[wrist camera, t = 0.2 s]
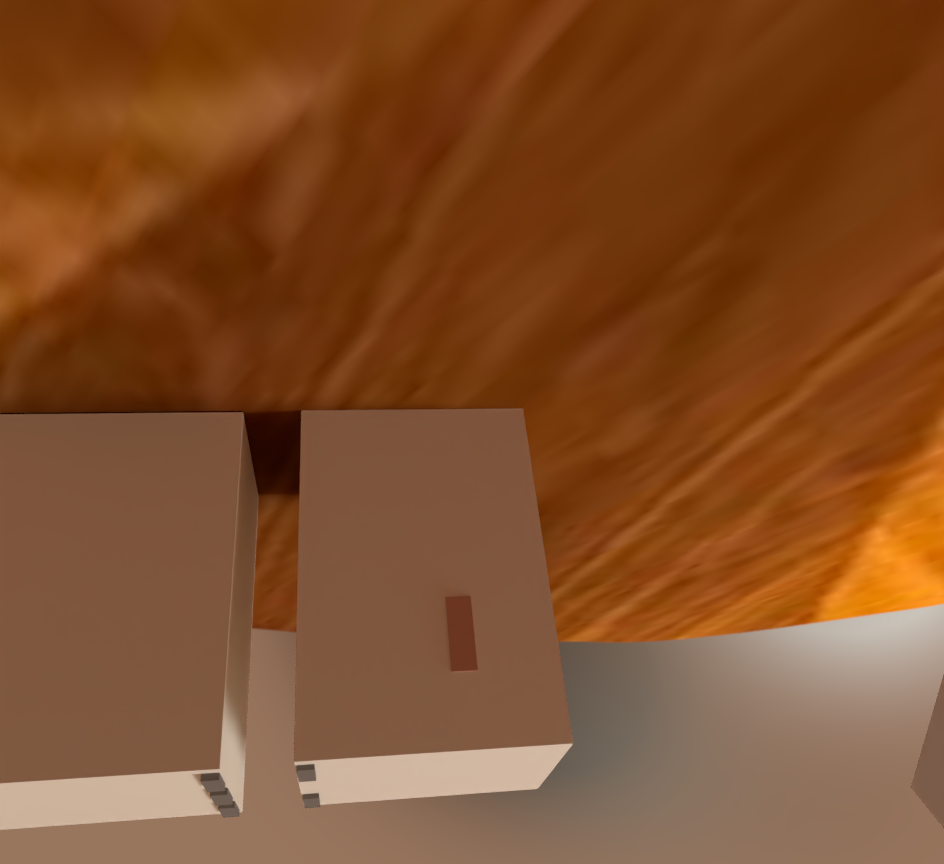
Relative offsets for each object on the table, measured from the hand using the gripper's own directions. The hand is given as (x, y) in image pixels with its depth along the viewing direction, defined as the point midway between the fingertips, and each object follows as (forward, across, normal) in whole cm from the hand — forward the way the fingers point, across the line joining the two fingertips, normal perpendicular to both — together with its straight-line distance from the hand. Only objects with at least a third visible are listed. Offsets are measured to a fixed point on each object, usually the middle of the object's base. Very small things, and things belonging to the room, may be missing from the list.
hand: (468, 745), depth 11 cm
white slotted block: (+23, -11, -6) cm, 26 cm away
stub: (+22, +1, -6) cm, 23 cm away
